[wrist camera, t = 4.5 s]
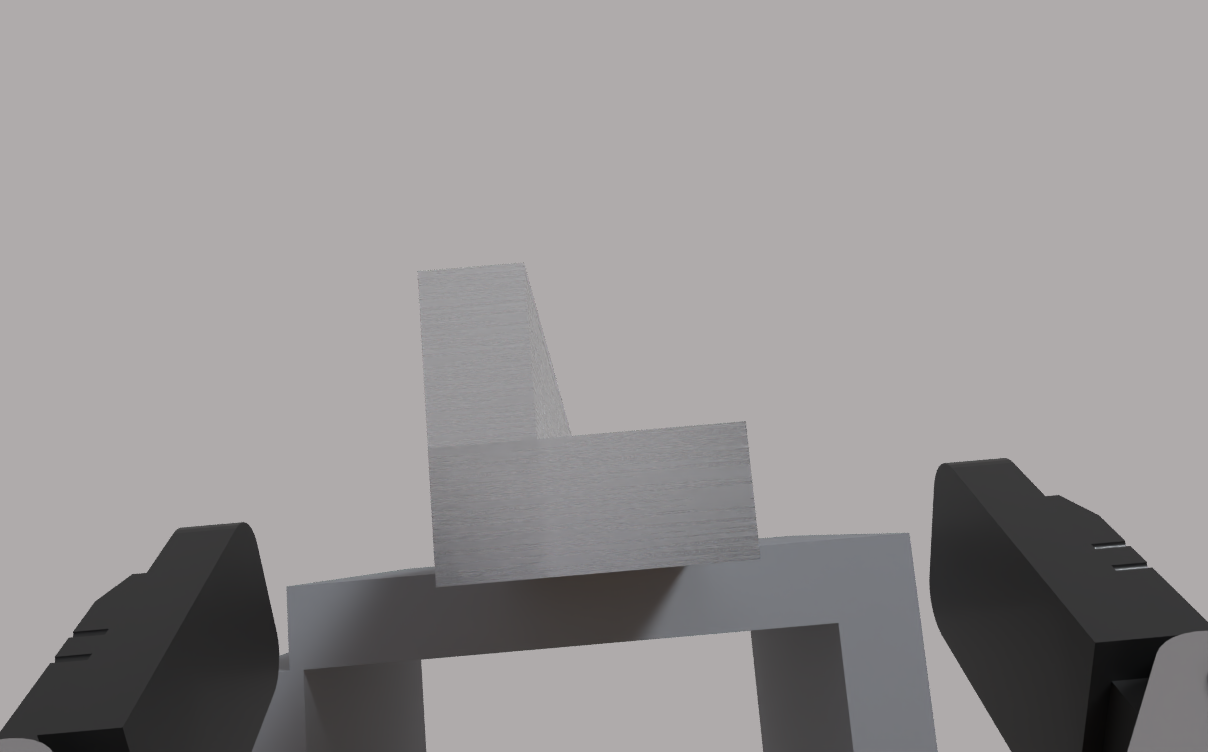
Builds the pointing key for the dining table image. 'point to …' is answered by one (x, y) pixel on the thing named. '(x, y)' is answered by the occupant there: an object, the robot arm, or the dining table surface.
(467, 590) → the step stand
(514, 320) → the bracket
